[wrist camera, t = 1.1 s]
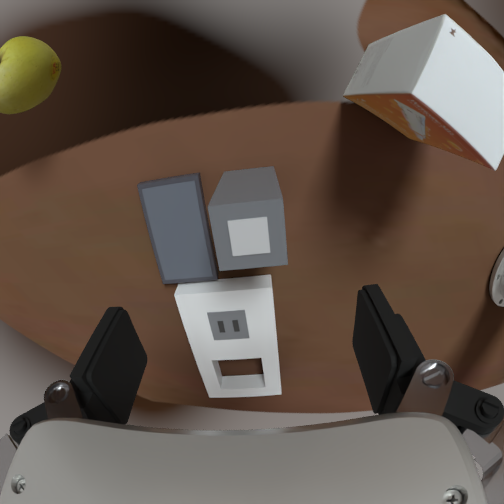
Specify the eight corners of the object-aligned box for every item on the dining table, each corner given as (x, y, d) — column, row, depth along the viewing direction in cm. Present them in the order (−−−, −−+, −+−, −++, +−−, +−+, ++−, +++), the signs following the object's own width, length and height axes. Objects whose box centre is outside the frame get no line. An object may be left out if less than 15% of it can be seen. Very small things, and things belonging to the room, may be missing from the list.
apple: (69, 110, 23) (-18, 122, 14) (31, 108, 24) (-41, 120, 15) (84, 34, 19) (-2, 26, 10) (43, 44, 21) (-30, 43, 12)
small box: (340, 96, 23) (408, 93, 12) (367, 43, 21) (445, 10, 9) (409, 141, 25) (497, 174, 13) (434, 90, 22) (527, 97, 11)
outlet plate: (270, 274, 32) (272, 288, 29) (280, 381, 40) (281, 395, 38) (179, 282, 32) (173, 296, 30) (211, 384, 40) (209, 398, 38)
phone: (199, 172, 27) (197, 174, 26) (218, 275, 32) (217, 280, 31) (140, 182, 27) (136, 185, 26) (165, 279, 32) (163, 284, 31)
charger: (273, 166, 27) (283, 199, 18) (277, 212, 29) (287, 265, 20) (224, 171, 27) (207, 207, 18) (230, 217, 29) (219, 271, 20)
